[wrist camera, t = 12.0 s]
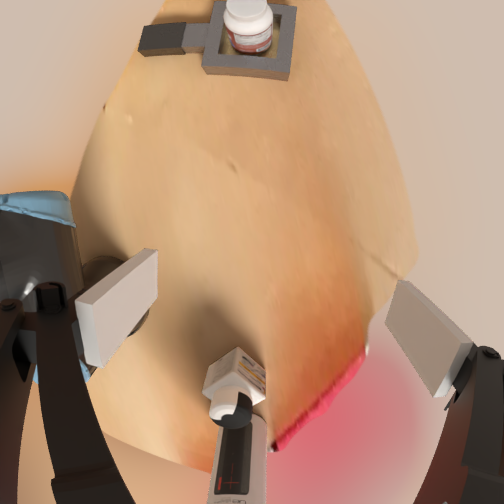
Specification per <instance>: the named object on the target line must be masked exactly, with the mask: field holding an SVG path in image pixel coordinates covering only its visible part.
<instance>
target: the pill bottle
mask: <svg viewBox="0 0 504 504" xmlns="http://www.w3.org/2000/svg"><path fill="white" fill-rule="evenodd" d="M226 7H227V8H226V9H225V11H224V15H223V19H224V23H225V26H226V30H227V33H228V36H229V40H230V43H231V45H232V47H233V48H234V50H236V51H237V52H238V53H240V54H243V55H248V56H253V55H258V54H261V53H263V52H265V51H266V50H267V49H268V48H269V47H270V45H271V43H272V34H273V12H272V10H271V8H270V6H269V5H268V4H267V0H227V2H226Z"/></svg>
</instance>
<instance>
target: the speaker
mask: <svg viewBox="0 0 504 504" xmlns="http://www.w3.org/2000/svg"><path fill="white" fill-rule="evenodd" d="M266 455H267V425H266V423H265V421H264V420H263V419H262V418H261V417H259V416H258V415H256V414H253V413H252V419H251V421H250V423H249V424H247V425H246V426H244V427H242V428H238V429H228V428H224V427H221V426H219V431H218V437H217V444H216V450H215V456H214V462H213V468H212V474H211V480H210V487H209V493H208V499H207V504H266Z"/></svg>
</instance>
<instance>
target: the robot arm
mask: <svg viewBox="0 0 504 504" xmlns="http://www.w3.org/2000/svg"><path fill="white" fill-rule="evenodd" d="M75 228H76V224H75V223H74V220H73V215H72V209H71V203H70V200H69V198H68V196H67V195H66V194H64V193H62V192H60V191H27V192H16V193H11V194H3V195H0V504H17V486H18V467H19V456H20V446H21V439H22V438H21V437H22V431H23V425H24V419H25V413H26V407H27V403H28V398H29V394H30V389H31V385H32V381H33V380H34V381H35V382H36V383H37V384H38V386H39V395H40V403H41V411H42V417H43V423H44V429H45V434H46V439H47V444H48V449H49V453H50V457H51V461H52V465H53V469H54V473H55V478H53V479H51V486H52V490H53V494H54V497H55V500H56V504H136V503H135V501H134V500H133V498H132V496H131V494H130V492H129V490H128V488H127V486H126V485H125V483H124V481H123V479H122V477H121V475H120V473H119V470H118V468H117V466H116V464H115V462H114V460H113V457H112V455H111V453H110V451H109V448H108V446H107V443H106V441H105V438H104V436H103V433H102V431H101V428H100V425H99V423H98V420H97V417H96V414H95V411H94V408H93V405H92V402H91V399H90V396H89V393H88V390H87V386H86V383H85V382H87V381H88V380H89V379H90V377H91V375H92V374H93V373H94V371H95V370H96V368H97V367H99V368H102V369H103V368H104V367H105V365H106V364H107V363H108V361H109V360H110V359H111V357H112V356H113V355H114V353H115V352H116V351H117V349H118V348H119V347H120V345H121V344H122V343H123V341H124V340H125V339H126V337H129V336H131V335H133V334H134V333H136V332H137V331H138V330H139V329H140V327H141V326H142V325H143V323H144V322H145V320H146V318H147V316H148V313H149V308H150V306H151V305H152V304H153V302H154V301H155V300H156V299H157V297H158V291H157V267H158V250H153V249H146V248H144V249H143V250H142V251H140V252H139V253H137V254H136V255H135V256H133V257H132V258H130V259H129V260H128V261H126V262H123V261H121V260H119V259H116V258H113V257H108V256H101V257H97V258H94V259H92V260H91V261H89V262H87V263H86V264H84V265H83V266H82V265H81V260H80V254H79V249H78V243H77V236H76V230H75ZM385 324H386V326H387V327H388V329H389V330H390V332H391V333H392V335H393V336H394V338H395V339H396V341H397V342H398V344H399V345H400V346H401V348H402V350H403V351H404V353H405V354H406V356H407V357H408V359H409V360H410V362H411V363H412V365H413V366H414V368H415V369H416V371H417V373H418V374H419V376H420V377H421V379H422V381H423V382H424V384H425V385H426V387H427V389H428V390H429V392H430V394H431V395H432V397H433V398H435V397H442V396H446V395H447V393H448V391H449V389H450V388H451V386H452V385H453V386H454V387H455V389H456V391H455V393H454V394H453V396H452V398H451V399H450V401H449V402H448V404H447V406H446V407H445V409H444V410H447V408H449V410H448V414H447V417H446V421H445V424H444V428H443V431H442V434H441V437H440V440H439V443H438V446H437V449H436V452H435V454H434V457H433V460H432V462H431V465H430V467H429V470H428V472H427V475H426V477H425V480H424V482H423V484H422V486H421V488H420V491H419V493H418V495H417V497H416V499H415V501H414V503H413V504H504V360H501V356H500V355H499V353H498V352H497V351H495V350H494V349H493V348H490V347H487V346H480V347H477V346H476V345H475V344H474V342H473V341H472V340H471V339H470V338H469V337H468V336H467V335H466V334H465V333H464V332H463V331H462V330H461V329H460V328H459V327H458V326H457V325H456V324H455V323H454V322H453V321H452V320H451V319H450V318H449V317H448V316H447V315H446V314H445V313H443V312H442V311H441V310H440V309H439V308H438V307H437V306H436V305H435V304H434V303H433V302H432V301H431V300H430V299H428V298H427V297H426V296H425V295H424V294H423V293H422V292H421V291H420V290H419V289H417V288H416V287H415V286H414V285H413V284H412V283H411V282H409V281H404V280H398V282H397V285H396V289H395V292H394V295H393V299H392V302H391V305H390V309H389V312H388V315H387V318H386V321H385Z"/></svg>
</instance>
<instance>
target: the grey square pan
mask: <svg viewBox="0 0 504 504" xmlns="http://www.w3.org/2000/svg"><path fill="white" fill-rule="evenodd" d="M226 2H227V1H215V2H214V7H213V11H212V15H211V20H210V23H193V24H187V23H186V22H181V23H168V24H157V25H148V26H144V28H143V32H142V35H141V39H140V43H139V47H138V52H140V53H141V54H142V55H143V56H144V57H148V56H162V55H184V54H186V53H204V54H203V60H202V65H201V66H202V68H203V69H204V71H205V72H206V74H207V75H230V76H245V77H256V78H266V79H274V80H282V81H288V77H289V73H290V65H291V57H292V48H293V39H294V29H295V20H296V11H297V7H295V6H288V5H280V4H270V3H267V4H268V5H269V6H270V8H271V10H272V12H273V34H272V43H271V45H270V47H269V48H268V49H267V50H266V51H265V52H263V53H261V54H258V55H253V56H248V55H243V54H240V53H238V52H237V51H236V50H234V48H233V47H232V45H231V43H230V40H229V36H228V33H227V30H226V26H225V23H224V19H223V15H224V11H225V9H226V8H227V7H226Z"/></svg>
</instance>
